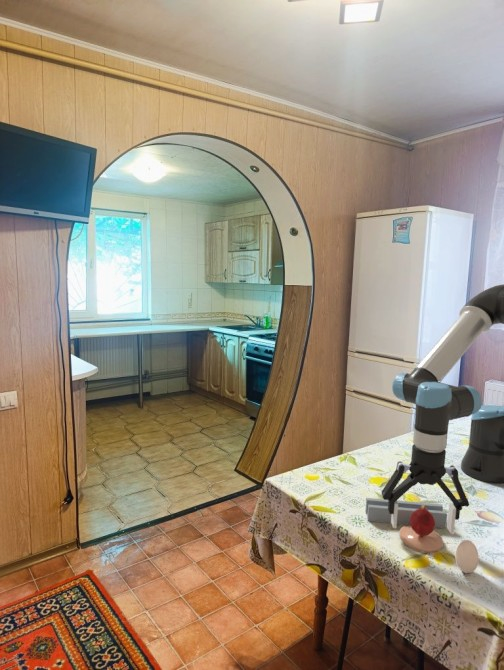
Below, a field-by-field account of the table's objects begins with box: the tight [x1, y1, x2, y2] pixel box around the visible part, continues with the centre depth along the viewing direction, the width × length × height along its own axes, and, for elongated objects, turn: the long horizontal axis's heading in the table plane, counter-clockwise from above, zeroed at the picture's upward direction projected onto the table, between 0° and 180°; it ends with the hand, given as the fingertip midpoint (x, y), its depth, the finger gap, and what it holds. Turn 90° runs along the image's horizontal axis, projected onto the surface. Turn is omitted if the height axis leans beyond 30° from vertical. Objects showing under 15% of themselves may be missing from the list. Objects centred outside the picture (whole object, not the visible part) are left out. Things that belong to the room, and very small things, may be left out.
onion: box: [410, 505, 436, 536], centre depth 107 cm, size 6×6×8 cm
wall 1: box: [365, 497, 444, 515], centre depth 118 cm, size 20×1×4 cm, turn 83°
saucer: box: [399, 524, 444, 554], centre depth 108 cm, size 10×10×1 cm
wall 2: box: [366, 505, 448, 529], centre depth 114 cm, size 20×1×4 cm, turn 83°
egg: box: [454, 539, 480, 574], centre depth 96 cm, size 5×5×7 cm
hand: (421, 527), depth 107 cm, fingers open, 13 cm apart
